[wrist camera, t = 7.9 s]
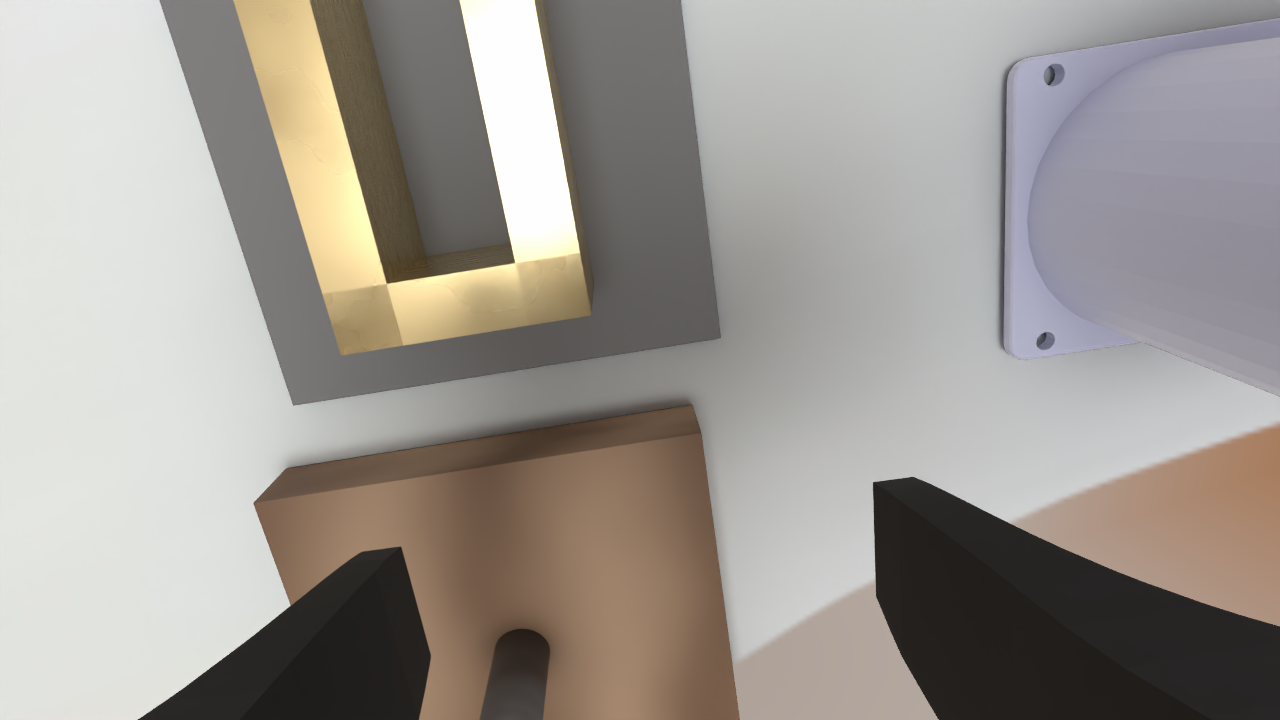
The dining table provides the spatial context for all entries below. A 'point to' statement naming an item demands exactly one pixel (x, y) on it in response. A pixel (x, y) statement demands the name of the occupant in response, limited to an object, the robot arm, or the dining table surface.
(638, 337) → the mat
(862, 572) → the dining table surface
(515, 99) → the u link
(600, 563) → the peg stand
